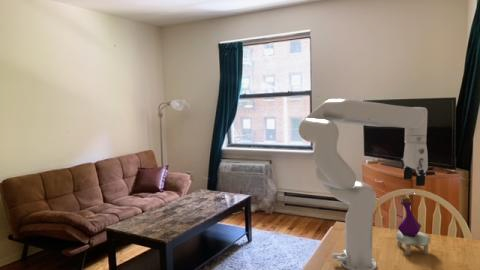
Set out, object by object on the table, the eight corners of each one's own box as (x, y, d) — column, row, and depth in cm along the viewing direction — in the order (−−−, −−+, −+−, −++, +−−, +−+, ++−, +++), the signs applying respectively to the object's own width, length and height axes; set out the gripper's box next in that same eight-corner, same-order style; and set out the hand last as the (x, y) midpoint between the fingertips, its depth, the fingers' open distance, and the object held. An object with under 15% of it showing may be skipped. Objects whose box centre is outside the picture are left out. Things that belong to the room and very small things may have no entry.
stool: (404, 257, 132) (404, 243, 132) (390, 244, 144) (391, 230, 143) (435, 256, 132) (436, 242, 131) (419, 243, 144) (419, 229, 143)
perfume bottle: (397, 235, 138) (398, 192, 136) (401, 229, 144) (402, 187, 142) (418, 239, 134) (419, 195, 132) (421, 233, 140) (422, 190, 138)
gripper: (437, 142, 124) (435, 188, 126) (413, 136, 141) (412, 176, 143) (416, 142, 124) (415, 188, 126) (395, 136, 141) (394, 177, 143)
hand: (413, 182), depth 135 cm, fingers open, 9 cm apart
